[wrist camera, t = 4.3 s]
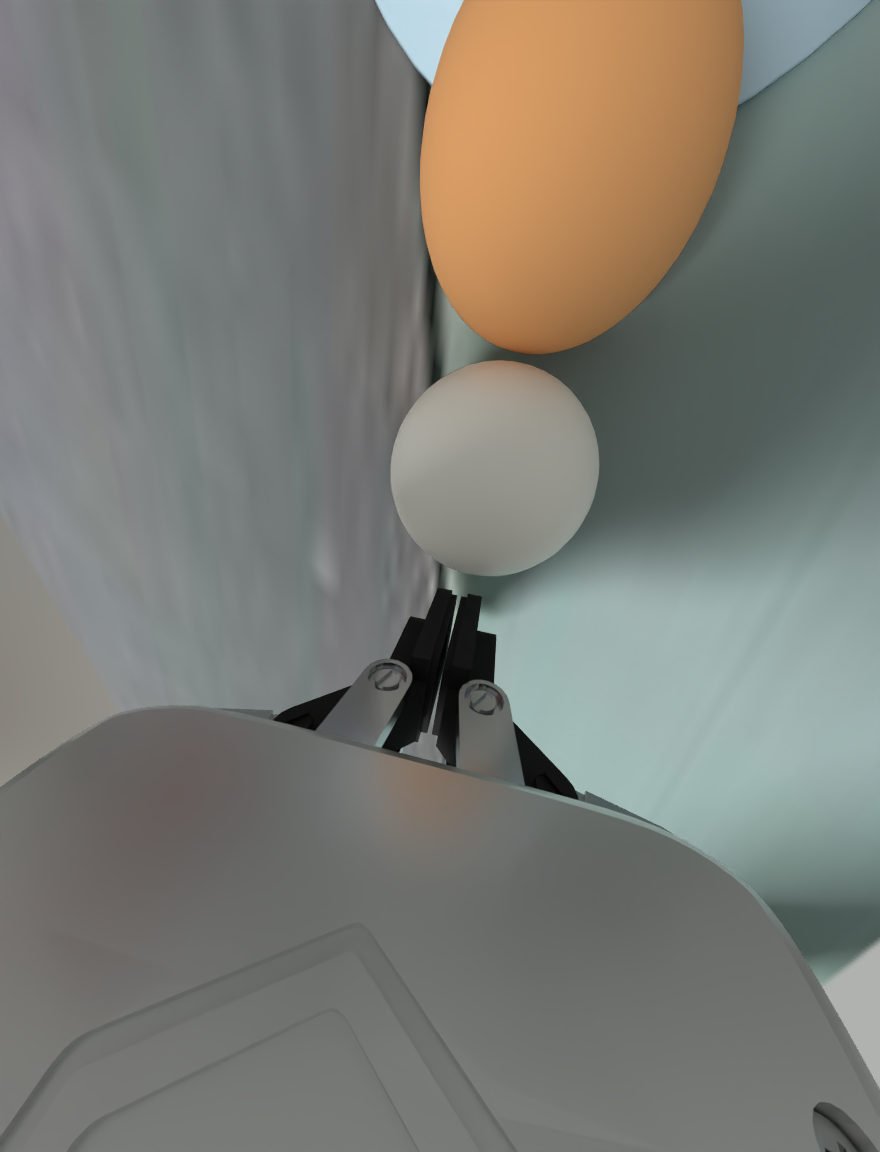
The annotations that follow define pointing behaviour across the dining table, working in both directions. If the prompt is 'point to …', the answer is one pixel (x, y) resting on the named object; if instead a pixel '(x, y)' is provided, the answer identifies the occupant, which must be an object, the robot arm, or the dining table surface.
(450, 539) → the white egg
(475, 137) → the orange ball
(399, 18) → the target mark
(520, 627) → the dining table surface
